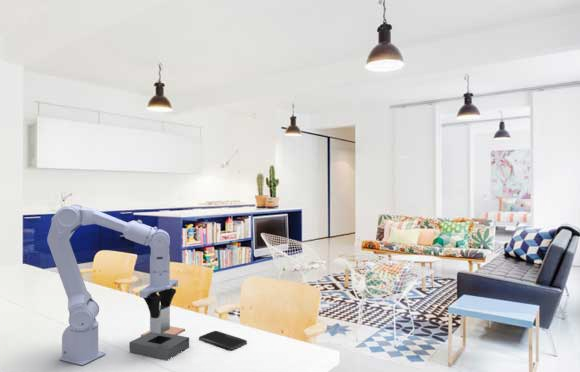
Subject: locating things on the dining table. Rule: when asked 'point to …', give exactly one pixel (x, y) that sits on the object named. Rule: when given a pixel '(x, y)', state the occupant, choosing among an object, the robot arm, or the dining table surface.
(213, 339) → the phone
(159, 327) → the steel peg
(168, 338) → the socket plate
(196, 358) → the dining table surface
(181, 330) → the mat
